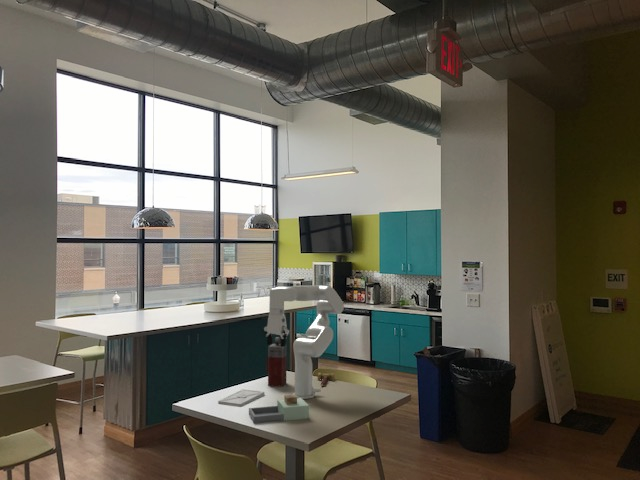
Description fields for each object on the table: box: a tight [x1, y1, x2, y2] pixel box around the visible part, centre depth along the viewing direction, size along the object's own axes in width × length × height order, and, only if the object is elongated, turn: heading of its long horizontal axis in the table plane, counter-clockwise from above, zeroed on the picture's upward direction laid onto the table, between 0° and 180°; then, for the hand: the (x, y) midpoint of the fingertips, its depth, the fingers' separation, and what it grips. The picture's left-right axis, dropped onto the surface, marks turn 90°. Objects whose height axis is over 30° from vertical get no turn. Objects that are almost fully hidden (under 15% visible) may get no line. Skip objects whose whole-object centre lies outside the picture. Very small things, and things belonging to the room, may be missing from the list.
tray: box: [248, 405, 285, 424], centre depth 245 cm, size 14×14×3 cm
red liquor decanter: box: [265, 336, 288, 388], centre depth 309 cm, size 9×11×28 cm
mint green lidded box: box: [276, 398, 310, 422], centre depth 249 cm, size 12×14×6 cm
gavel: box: [317, 372, 335, 387], centre depth 312 cm, size 21×5×10 cm
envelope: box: [217, 388, 265, 407], centre depth 276 cm, size 24×2×14 cm
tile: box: [283, 394, 297, 404], centre depth 249 cm, size 5×5×3 cm
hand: (276, 345), depth 266 cm, fingers open, 9 cm apart
